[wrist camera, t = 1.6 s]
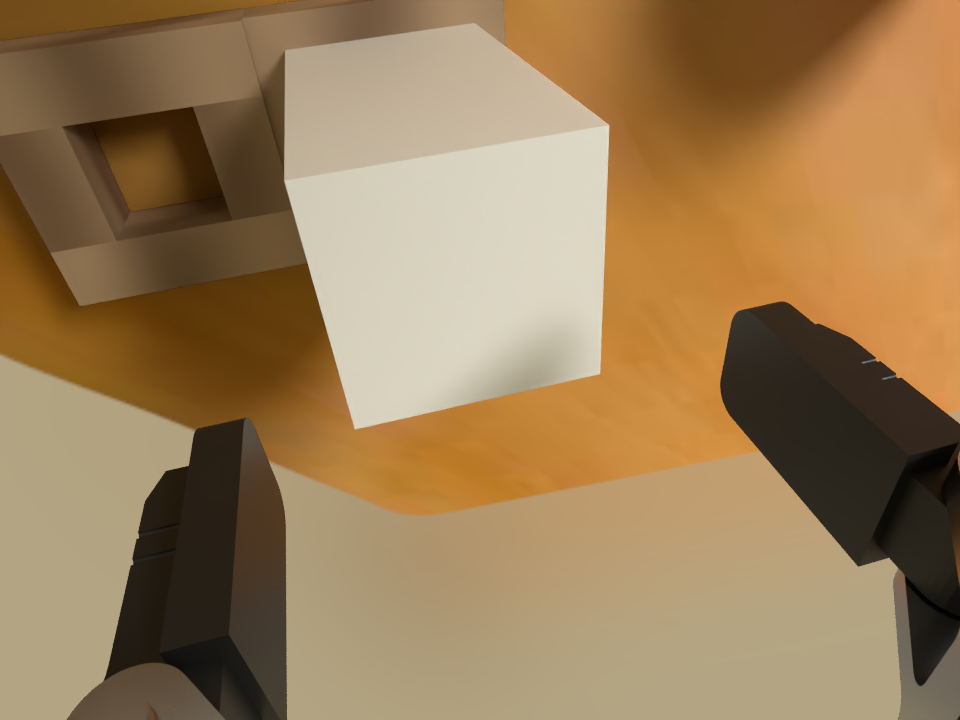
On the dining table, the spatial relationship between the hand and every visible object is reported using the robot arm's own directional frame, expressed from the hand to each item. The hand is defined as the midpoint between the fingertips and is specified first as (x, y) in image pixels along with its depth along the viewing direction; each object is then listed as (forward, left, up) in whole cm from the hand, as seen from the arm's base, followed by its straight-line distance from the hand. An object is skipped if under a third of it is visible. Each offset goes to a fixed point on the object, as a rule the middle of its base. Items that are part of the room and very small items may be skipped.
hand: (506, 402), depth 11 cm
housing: (0, 0, -15) cm, 15 cm away
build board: (+8, 0, -17) cm, 18 cm away
